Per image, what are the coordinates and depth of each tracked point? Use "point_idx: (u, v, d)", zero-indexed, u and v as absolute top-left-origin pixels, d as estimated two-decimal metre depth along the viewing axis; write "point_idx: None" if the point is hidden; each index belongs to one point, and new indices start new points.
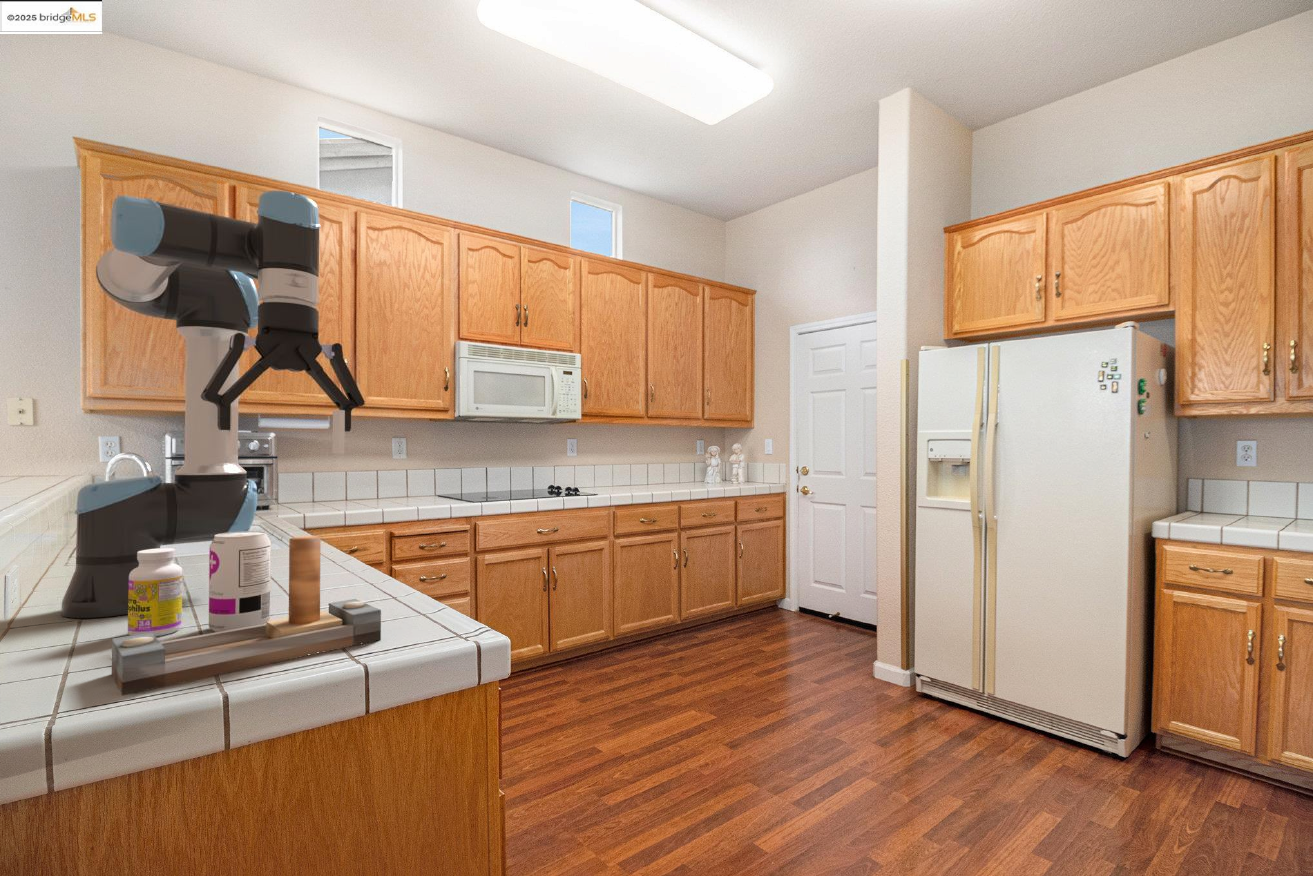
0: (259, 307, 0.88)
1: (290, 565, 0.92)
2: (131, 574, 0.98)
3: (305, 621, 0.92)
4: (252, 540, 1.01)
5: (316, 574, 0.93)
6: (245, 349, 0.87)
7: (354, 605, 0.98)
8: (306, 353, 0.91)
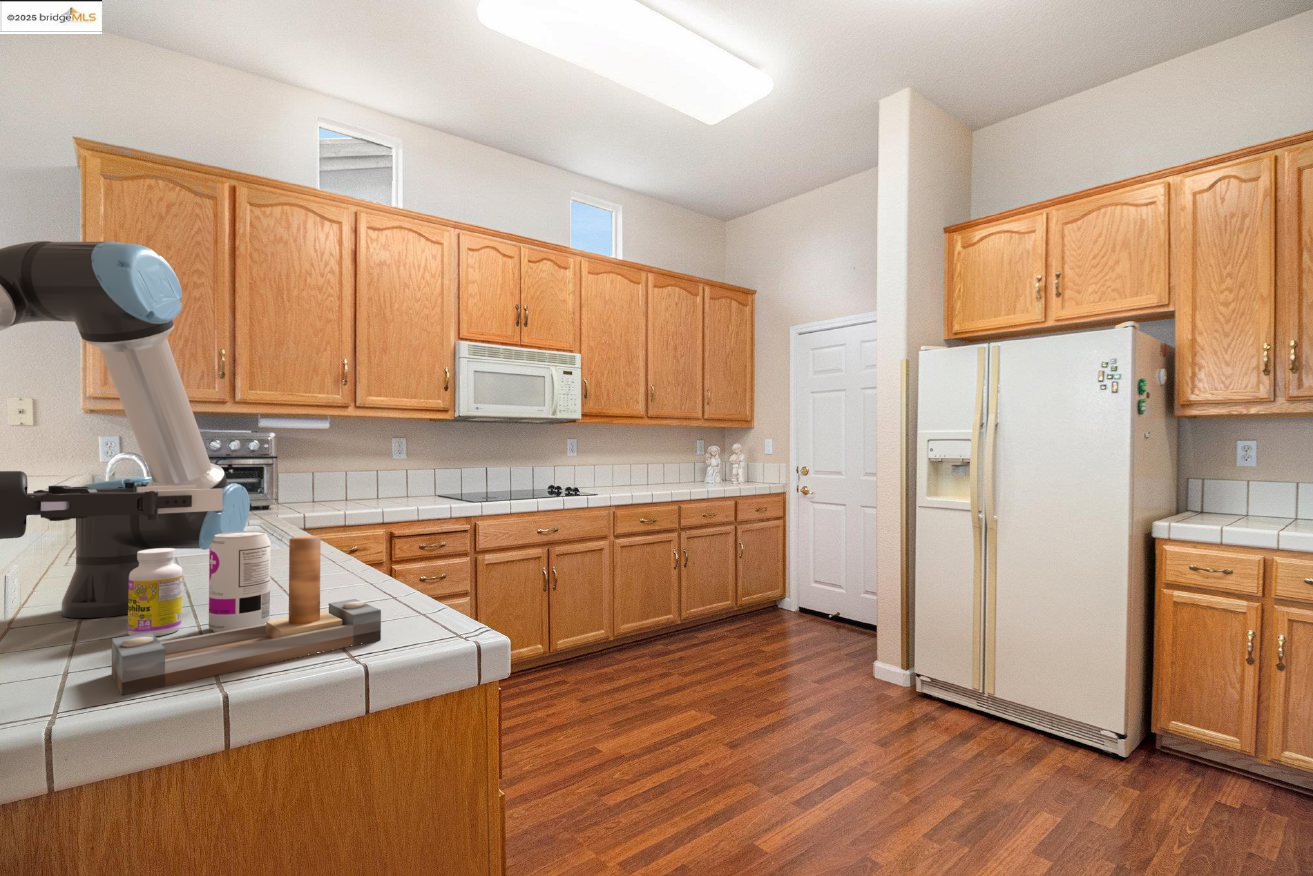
0: None
1: (290, 565, 0.92)
2: (131, 574, 0.98)
3: (305, 621, 0.92)
4: (252, 540, 1.01)
5: (316, 574, 0.93)
6: None
7: (354, 605, 0.98)
8: (62, 520, 0.74)
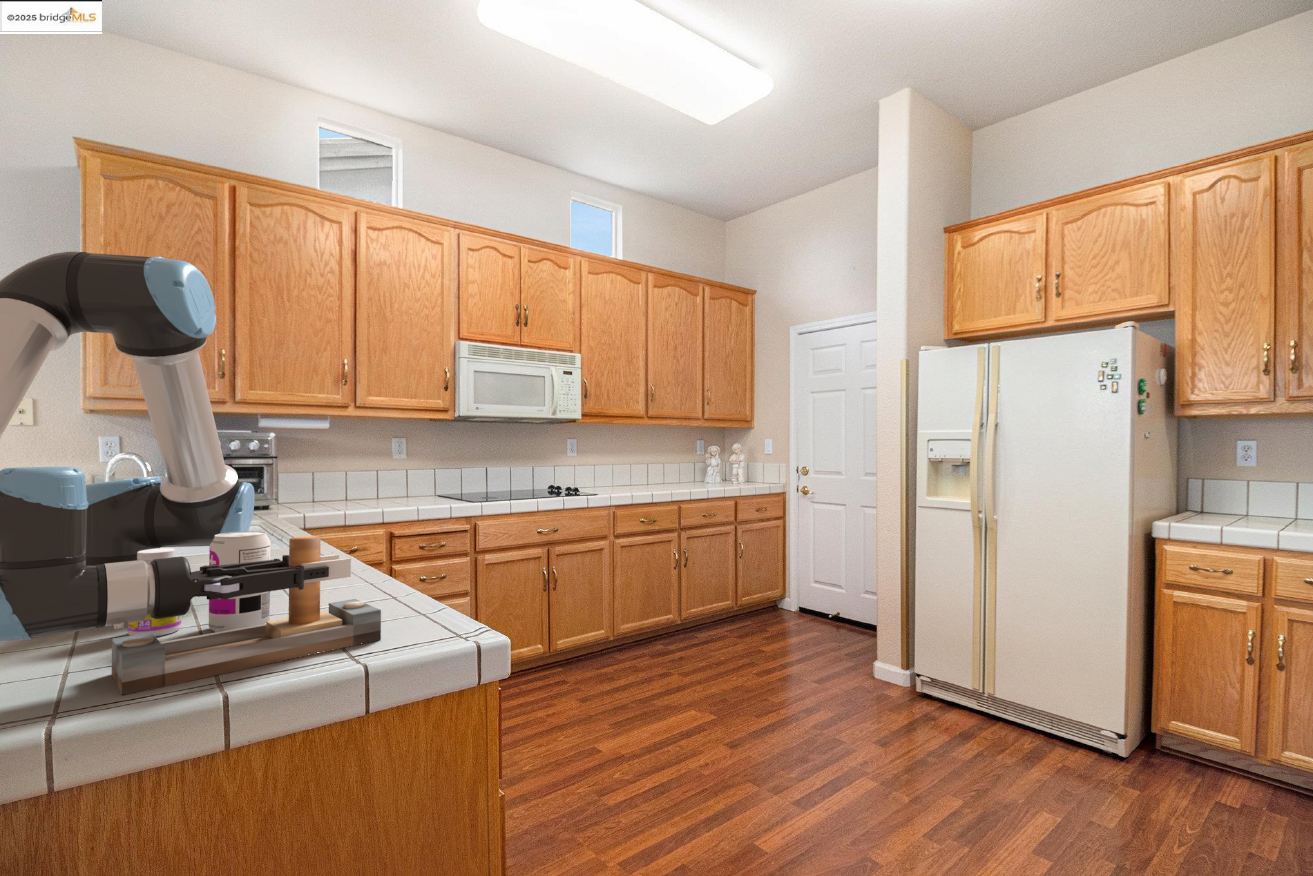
0: None
1: (290, 565, 0.92)
2: None
3: (305, 621, 0.92)
4: (252, 540, 1.01)
5: None
6: None
7: (354, 605, 0.98)
8: (217, 598, 0.84)
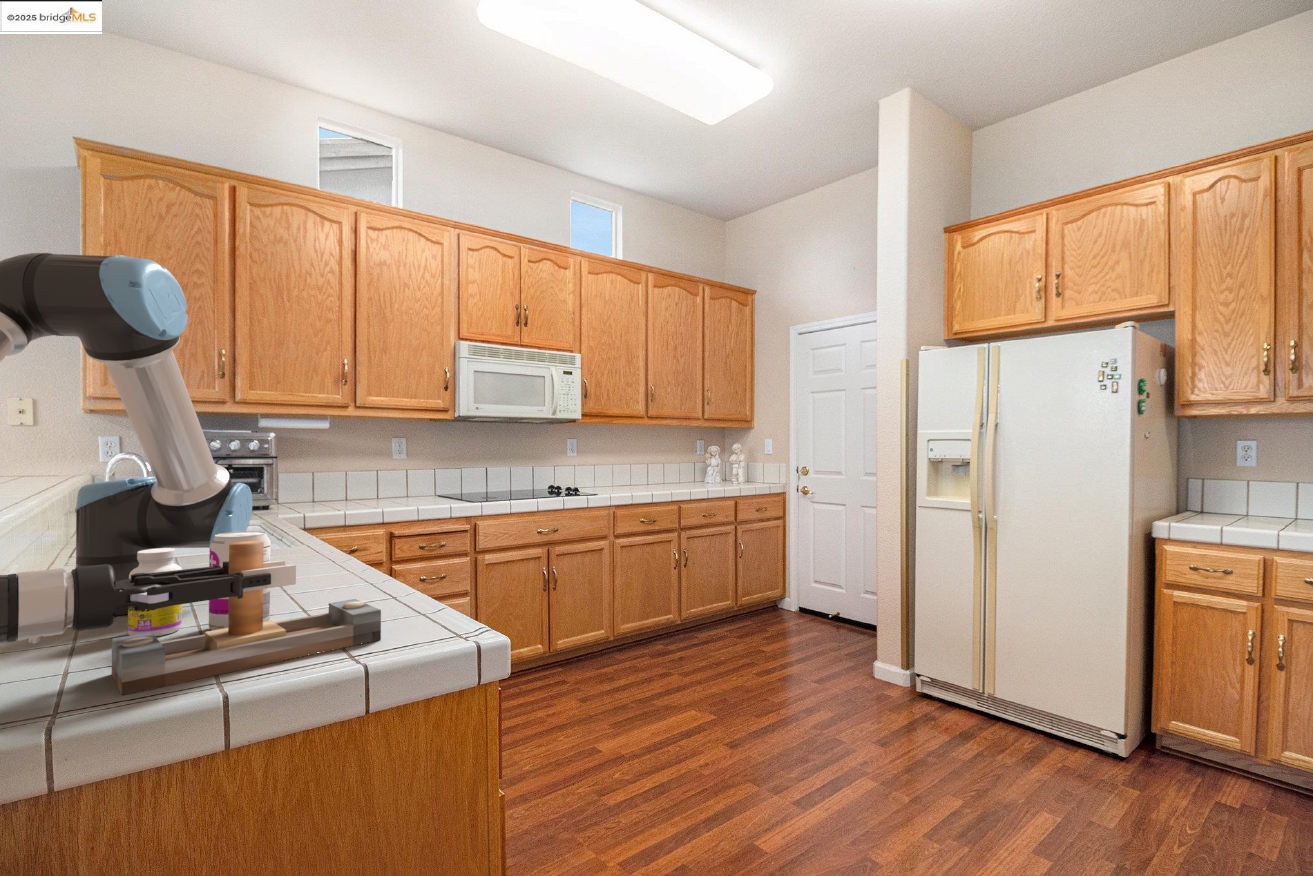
0: None
1: (229, 572, 0.87)
2: (131, 574, 0.98)
3: (245, 632, 0.86)
4: (252, 540, 1.01)
5: None
6: None
7: (354, 605, 0.98)
8: (145, 608, 0.79)
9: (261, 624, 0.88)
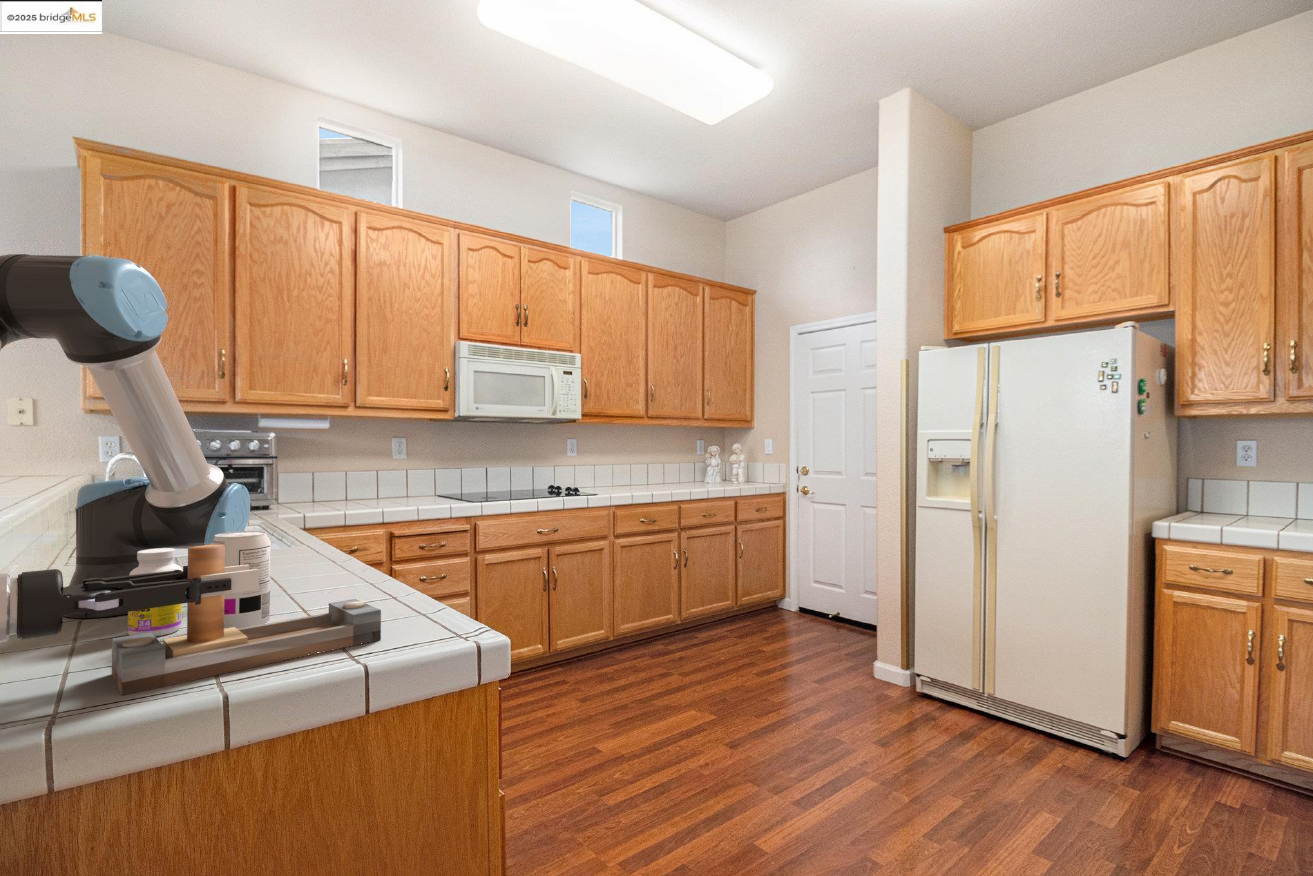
0: None
1: (188, 577, 0.83)
2: (131, 574, 0.98)
3: (204, 639, 0.83)
4: (252, 540, 1.01)
5: None
6: None
7: (354, 605, 0.98)
8: None
9: (222, 631, 0.85)
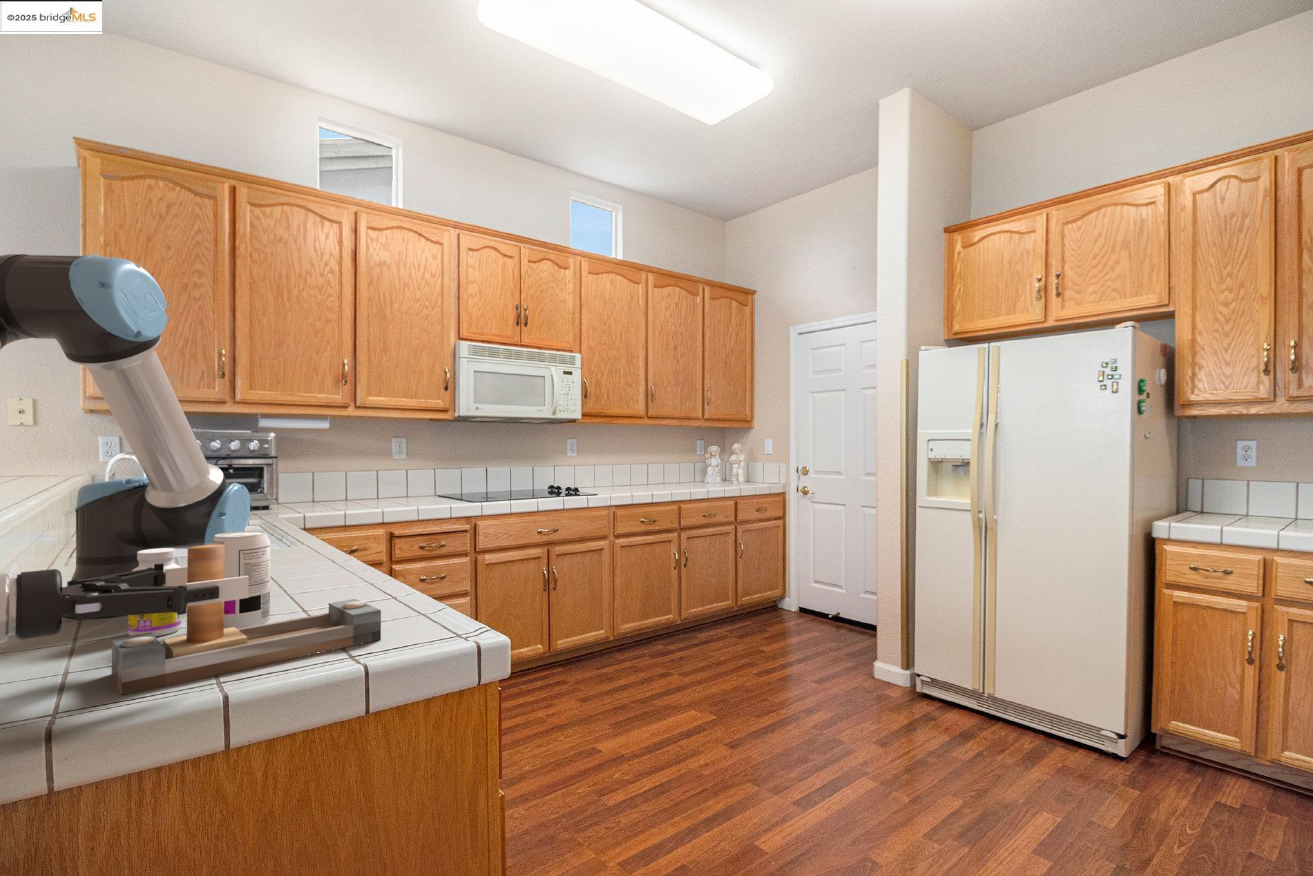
0: None
1: (188, 577, 0.83)
2: None
3: (204, 639, 0.83)
4: (252, 540, 1.01)
5: None
6: None
7: (354, 605, 0.98)
8: None
9: (221, 631, 0.85)
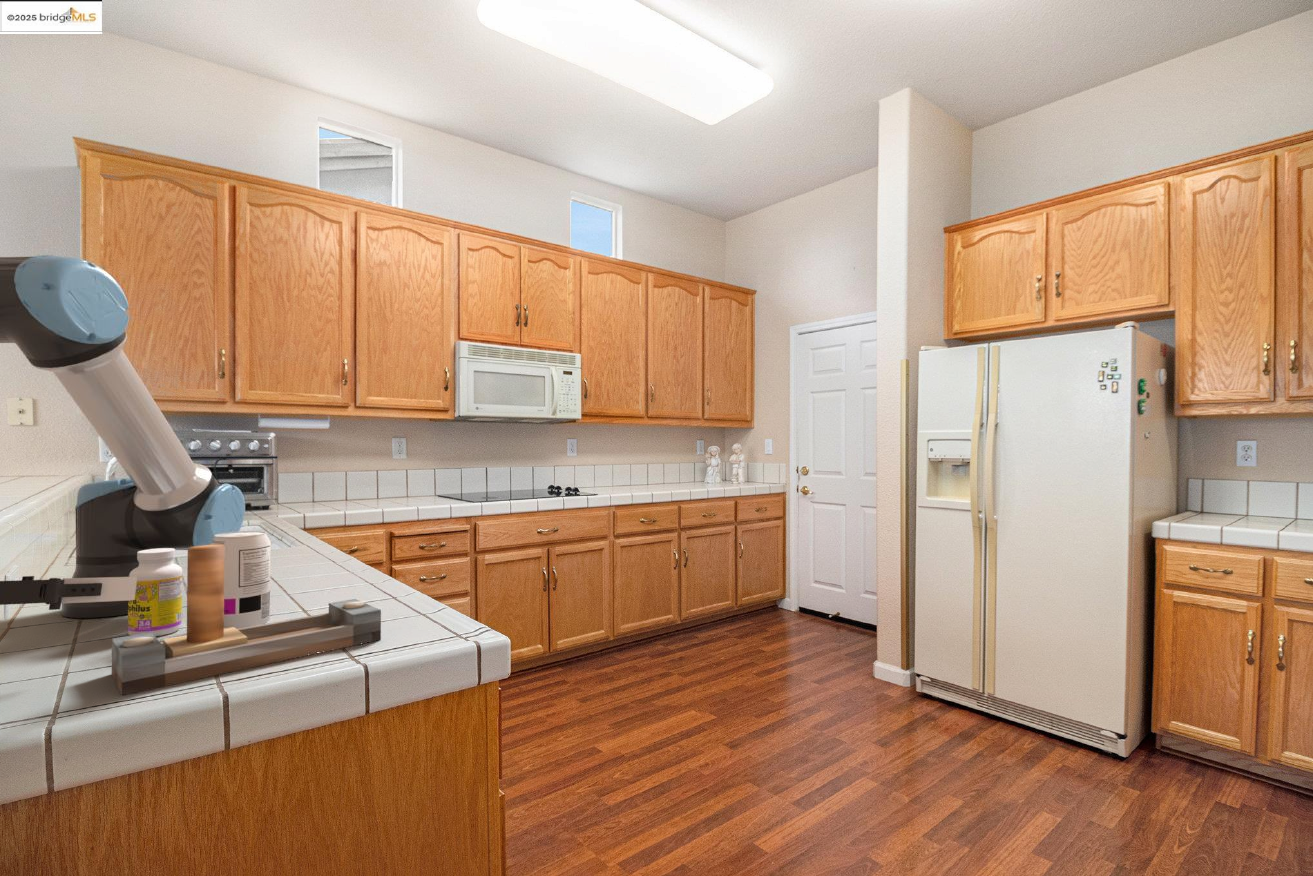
0: None
1: (188, 577, 0.83)
2: (131, 574, 0.98)
3: (204, 639, 0.83)
4: (252, 540, 1.01)
5: (218, 587, 0.85)
6: None
7: (354, 605, 0.98)
8: None
9: (221, 631, 0.85)
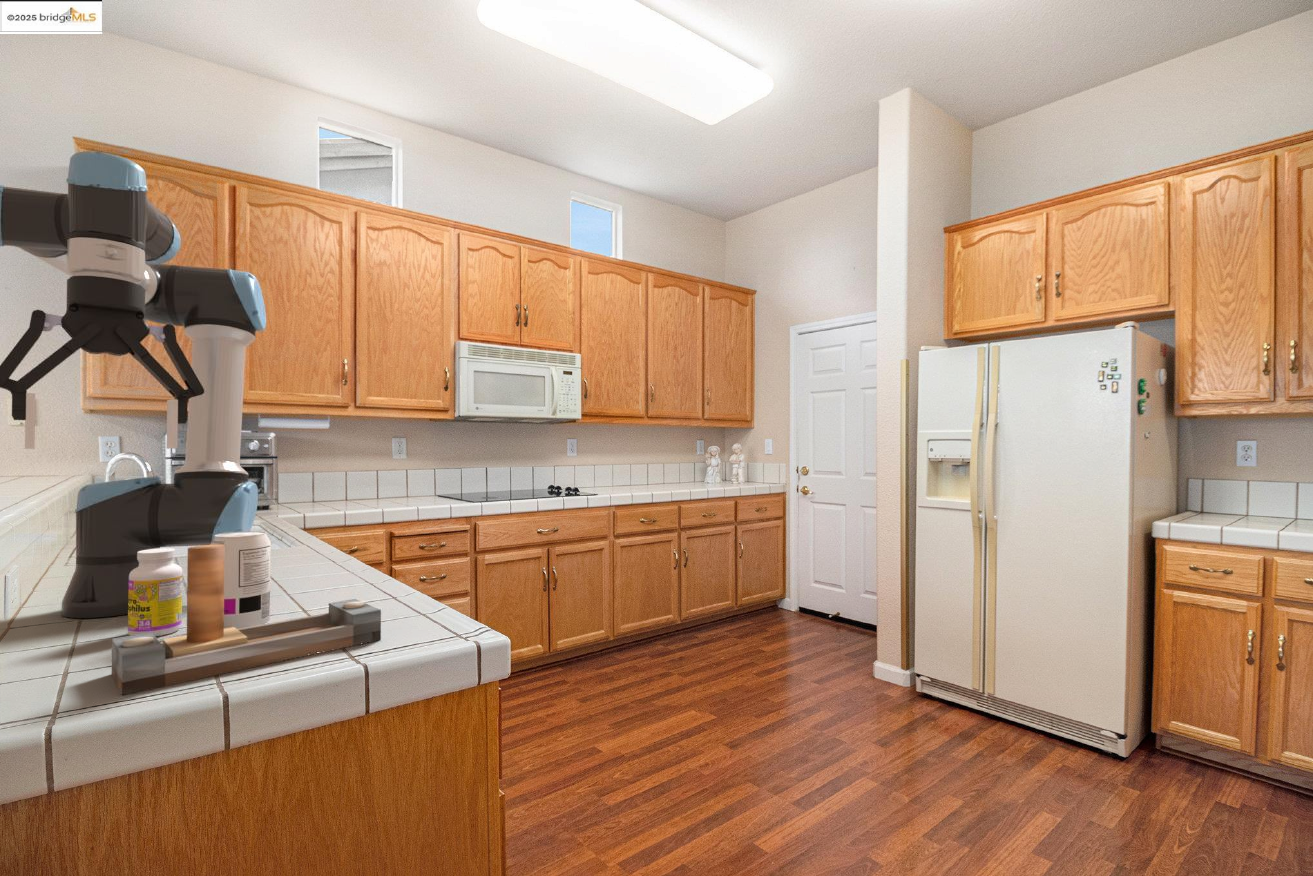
0: (67, 282, 0.78)
1: (188, 577, 0.83)
2: (131, 574, 0.98)
3: (204, 639, 0.83)
4: (252, 540, 1.01)
5: (218, 587, 0.85)
6: (47, 329, 0.77)
7: (354, 605, 0.98)
8: (126, 334, 0.81)
9: (221, 631, 0.85)
